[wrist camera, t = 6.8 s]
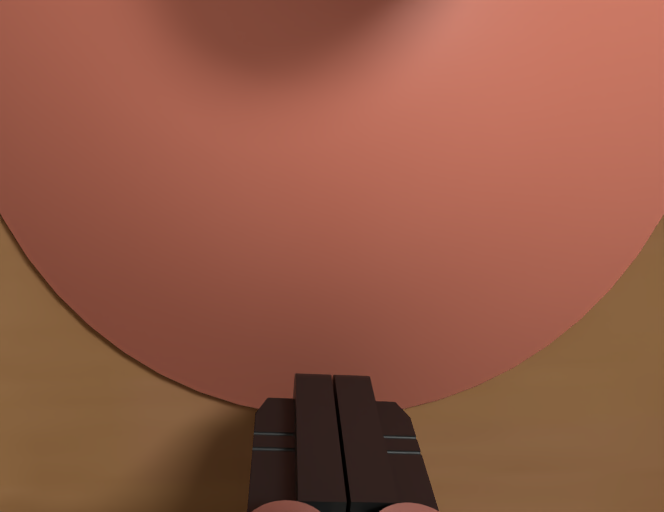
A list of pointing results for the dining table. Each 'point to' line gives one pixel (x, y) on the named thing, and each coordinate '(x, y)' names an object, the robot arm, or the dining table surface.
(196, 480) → the dining table surface
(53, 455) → the dining table surface
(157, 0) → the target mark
